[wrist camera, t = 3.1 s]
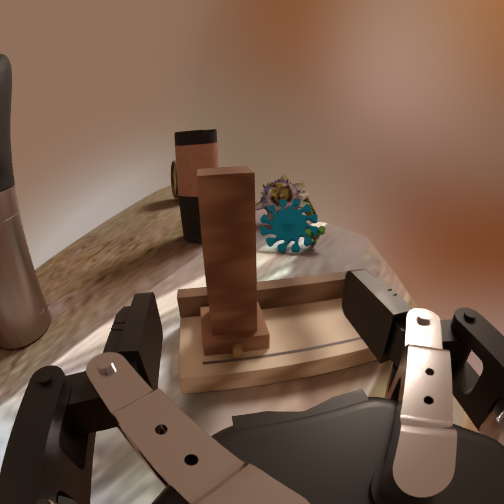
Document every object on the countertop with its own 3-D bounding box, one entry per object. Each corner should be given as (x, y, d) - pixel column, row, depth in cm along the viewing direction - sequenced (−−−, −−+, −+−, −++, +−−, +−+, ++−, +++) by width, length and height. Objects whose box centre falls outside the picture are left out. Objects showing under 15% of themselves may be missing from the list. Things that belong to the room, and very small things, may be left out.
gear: (250, 241, 48) (269, 191, 51) (256, 254, 54) (273, 207, 57) (316, 258, 45) (331, 204, 48) (315, 270, 51) (329, 220, 54)
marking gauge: (205, 364, 23) (181, 181, 17) (202, 320, 28) (186, 169, 22) (271, 355, 24) (273, 175, 18) (258, 314, 29) (255, 164, 23)
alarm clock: (171, 197, 89) (167, 146, 82) (188, 195, 90) (185, 144, 84) (177, 205, 79) (172, 147, 73) (195, 202, 81) (192, 145, 75)
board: (183, 393, 22) (172, 356, 20) (183, 323, 31) (177, 289, 29) (403, 351, 25) (415, 316, 23) (360, 300, 34) (365, 268, 32)
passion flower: (279, 249, 63) (245, 207, 59) (281, 224, 72) (252, 186, 67) (325, 224, 58) (292, 177, 54) (321, 201, 67) (292, 160, 63)
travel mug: (182, 231, 59) (174, 132, 51) (220, 228, 60) (215, 129, 52) (182, 245, 52) (172, 132, 44) (224, 241, 53) (219, 128, 45)
